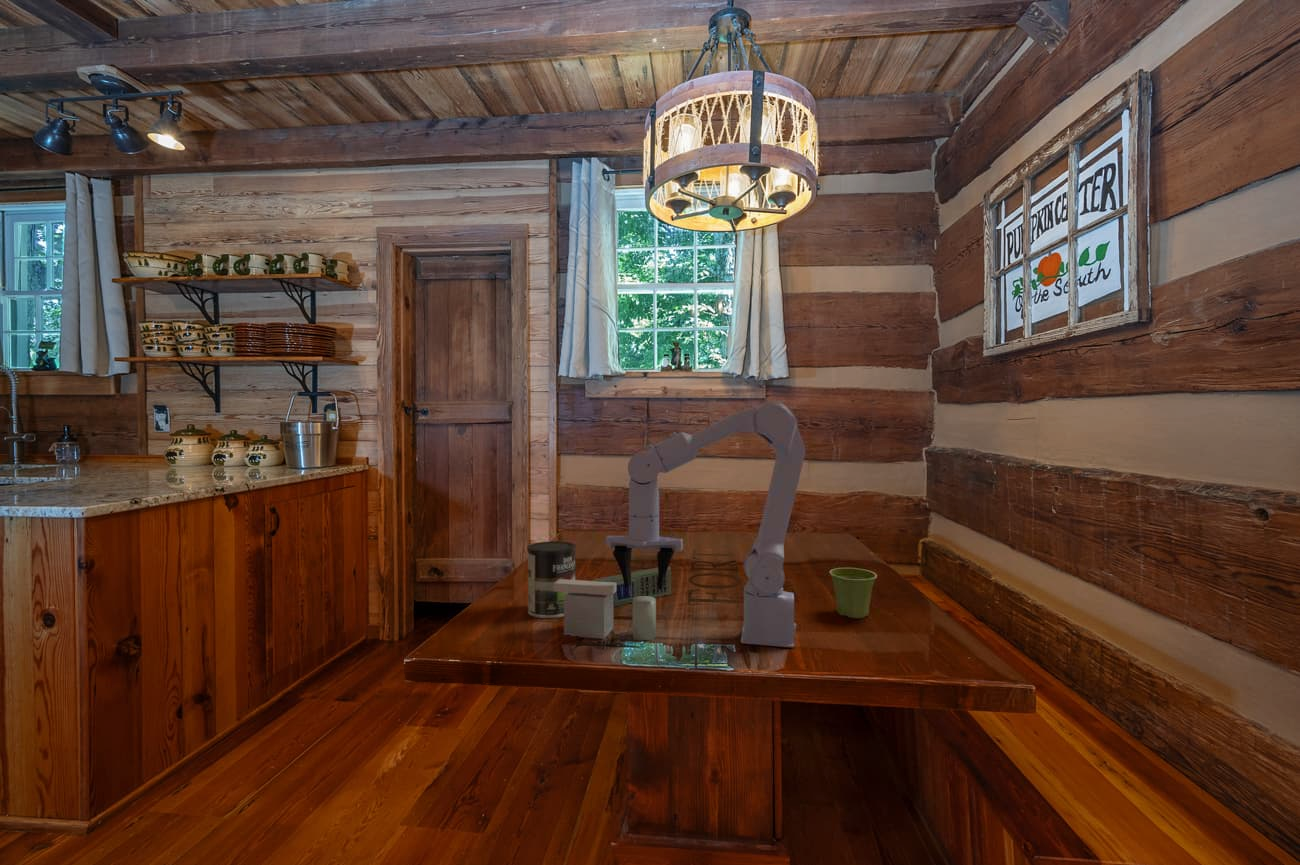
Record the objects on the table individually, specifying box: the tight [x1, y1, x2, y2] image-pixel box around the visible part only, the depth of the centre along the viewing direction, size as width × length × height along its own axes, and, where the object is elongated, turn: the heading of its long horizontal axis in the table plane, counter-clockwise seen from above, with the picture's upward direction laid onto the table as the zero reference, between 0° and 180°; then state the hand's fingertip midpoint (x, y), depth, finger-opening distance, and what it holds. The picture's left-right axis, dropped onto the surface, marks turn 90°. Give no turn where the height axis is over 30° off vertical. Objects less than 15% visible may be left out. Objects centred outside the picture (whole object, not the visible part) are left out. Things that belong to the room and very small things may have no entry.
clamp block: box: [563, 593, 615, 640], centre depth 109 cm, size 8×6×8 cm
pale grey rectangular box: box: [554, 579, 616, 595], centre depth 109 cm, size 12×3×2 cm, turn 77°
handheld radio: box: [593, 566, 672, 608], centre depth 127 cm, size 7×3×25 cm
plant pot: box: [829, 567, 878, 619], centre depth 119 cm, size 9×9×9 cm
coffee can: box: [527, 540, 577, 619], centre depth 121 cm, size 10×10×14 cm
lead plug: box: [632, 596, 657, 642], centre depth 106 cm, size 4×4×7 cm
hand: (644, 586), depth 106 cm, fingers open, 6 cm apart
